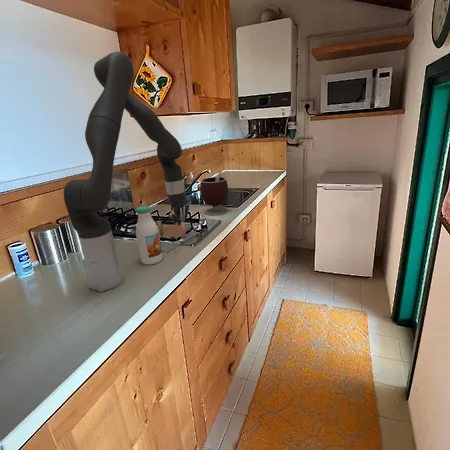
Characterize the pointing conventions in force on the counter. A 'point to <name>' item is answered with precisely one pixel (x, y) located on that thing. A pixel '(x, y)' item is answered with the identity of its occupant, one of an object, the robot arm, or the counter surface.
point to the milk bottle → (148, 237)
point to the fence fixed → (160, 228)
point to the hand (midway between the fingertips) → (182, 229)
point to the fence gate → (174, 230)
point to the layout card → (170, 246)
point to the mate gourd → (215, 194)
